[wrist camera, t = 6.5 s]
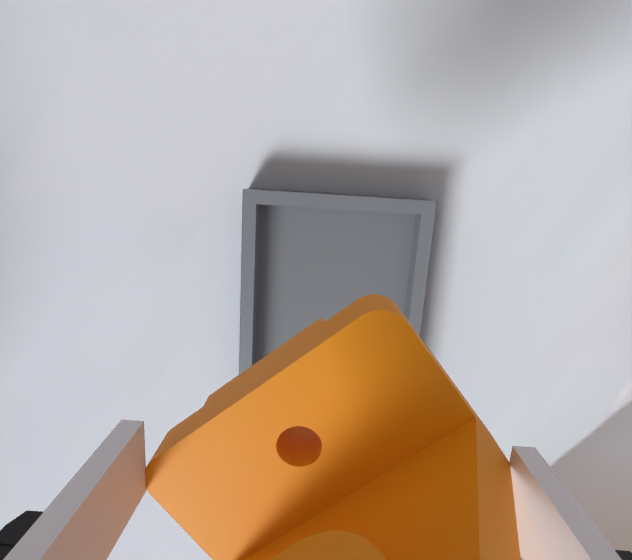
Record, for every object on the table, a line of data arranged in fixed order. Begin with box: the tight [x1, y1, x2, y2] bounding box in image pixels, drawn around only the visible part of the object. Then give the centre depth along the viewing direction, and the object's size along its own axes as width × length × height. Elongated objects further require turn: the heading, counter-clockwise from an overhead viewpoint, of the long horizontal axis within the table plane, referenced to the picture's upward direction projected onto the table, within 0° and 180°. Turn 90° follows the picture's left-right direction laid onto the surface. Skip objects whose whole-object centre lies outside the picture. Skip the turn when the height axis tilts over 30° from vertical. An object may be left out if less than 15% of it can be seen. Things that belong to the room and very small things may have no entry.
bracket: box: [145, 294, 521, 560], centre depth 11 cm, size 11×7×12 cm, turn 127°
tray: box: [239, 189, 437, 375], centre depth 34 cm, size 14×17×2 cm
